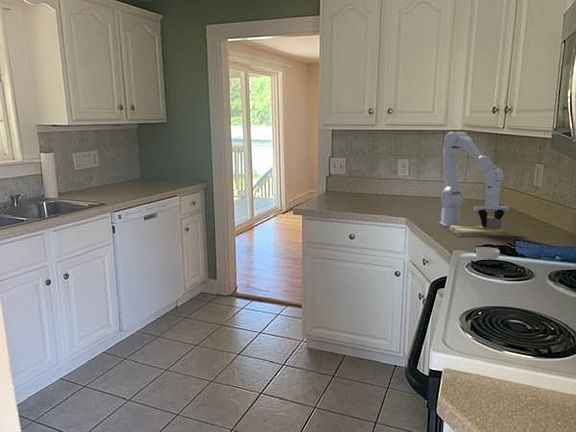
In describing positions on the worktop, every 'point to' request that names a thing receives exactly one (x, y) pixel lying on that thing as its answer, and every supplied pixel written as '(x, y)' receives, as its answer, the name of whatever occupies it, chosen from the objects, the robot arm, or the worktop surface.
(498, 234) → the pine board
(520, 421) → the worktop surface
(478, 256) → the teacup
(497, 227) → the block
